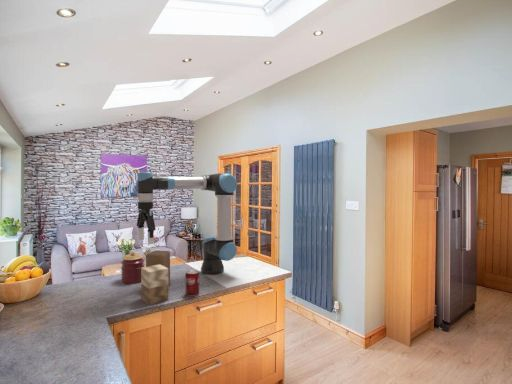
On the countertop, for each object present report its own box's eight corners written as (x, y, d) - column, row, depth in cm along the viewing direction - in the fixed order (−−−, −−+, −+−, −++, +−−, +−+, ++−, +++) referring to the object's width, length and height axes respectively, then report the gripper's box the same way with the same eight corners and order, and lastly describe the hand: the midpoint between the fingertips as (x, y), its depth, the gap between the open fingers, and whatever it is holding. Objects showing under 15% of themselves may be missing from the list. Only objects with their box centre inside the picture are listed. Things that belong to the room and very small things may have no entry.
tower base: (160, 294, 160) (160, 279, 160) (168, 299, 152) (168, 284, 152) (141, 298, 153) (141, 283, 153) (148, 304, 146) (148, 288, 145)
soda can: (194, 290, 165) (194, 268, 165) (202, 294, 160) (202, 271, 159) (182, 293, 160) (182, 271, 159) (190, 297, 155) (190, 274, 154)
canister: (145, 276, 189) (144, 248, 188) (144, 283, 177) (143, 253, 176) (122, 278, 185) (122, 249, 184) (120, 285, 173) (119, 254, 172)
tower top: (160, 279, 159) (160, 264, 159) (168, 284, 152) (168, 268, 152) (141, 283, 153) (141, 267, 153) (148, 288, 145) (148, 272, 145)
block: (162, 291, 163) (161, 254, 163) (145, 290, 165) (145, 253, 165) (170, 285, 173) (170, 250, 173) (155, 283, 175) (154, 249, 175)
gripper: (130, 200, 164) (130, 239, 165) (147, 203, 145) (147, 246, 146) (144, 200, 169) (144, 237, 170) (162, 202, 150) (162, 244, 150)
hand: (145, 242), depth 158 cm, fingers open, 13 cm apart
